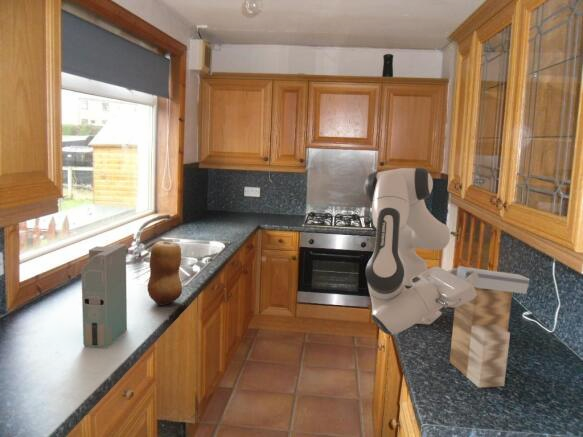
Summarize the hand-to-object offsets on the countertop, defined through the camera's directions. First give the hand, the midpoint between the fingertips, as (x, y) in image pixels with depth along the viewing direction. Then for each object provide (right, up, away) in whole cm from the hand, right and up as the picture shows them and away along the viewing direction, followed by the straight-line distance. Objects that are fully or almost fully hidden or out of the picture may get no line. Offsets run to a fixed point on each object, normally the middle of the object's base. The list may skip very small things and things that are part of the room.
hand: (470, 271), depth 141 cm
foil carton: (+6, -5, +2) cm, 8 cm away
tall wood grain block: (+8, -32, +13) cm, 35 cm away
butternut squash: (-100, -20, +63) cm, 120 cm away
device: (-111, -25, +28) cm, 117 cm away
